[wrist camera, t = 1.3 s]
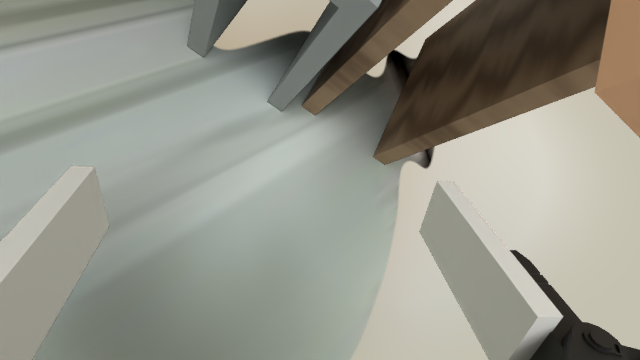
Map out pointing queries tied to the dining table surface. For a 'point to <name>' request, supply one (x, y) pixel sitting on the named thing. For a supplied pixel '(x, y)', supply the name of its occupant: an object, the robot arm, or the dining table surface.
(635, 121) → the slim box
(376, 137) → the dining table surface
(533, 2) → the walnut stand
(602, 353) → the robot arm
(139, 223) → the dining table surface
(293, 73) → the grey bench
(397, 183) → the dining table surface
